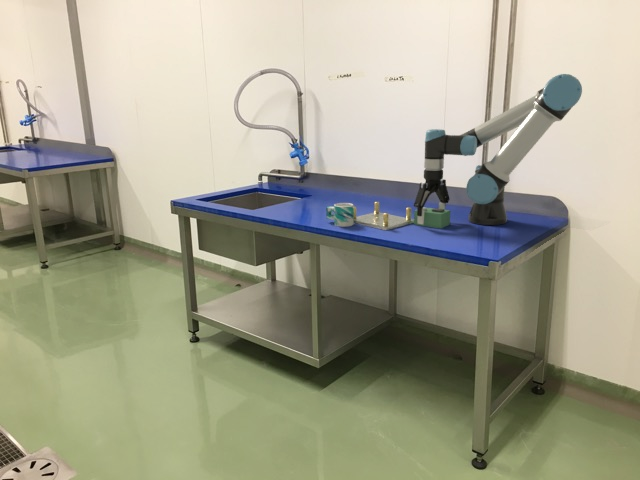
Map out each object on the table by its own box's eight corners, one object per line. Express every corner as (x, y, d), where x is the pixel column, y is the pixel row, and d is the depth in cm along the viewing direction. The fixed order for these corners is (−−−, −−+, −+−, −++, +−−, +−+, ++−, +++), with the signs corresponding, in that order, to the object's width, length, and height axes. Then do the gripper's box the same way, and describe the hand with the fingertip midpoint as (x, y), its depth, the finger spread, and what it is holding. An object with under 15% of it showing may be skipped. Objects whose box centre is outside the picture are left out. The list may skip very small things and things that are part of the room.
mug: (346, 227, 217) (345, 207, 215) (322, 223, 224) (322, 204, 222) (357, 223, 223) (357, 203, 221) (334, 220, 230) (333, 200, 228)
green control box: (449, 224, 217) (450, 208, 215) (440, 229, 211) (441, 211, 210) (423, 221, 225) (423, 204, 223) (414, 225, 219) (414, 208, 217)
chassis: (415, 222, 222) (415, 207, 220) (386, 230, 210) (386, 215, 209) (376, 214, 238) (376, 200, 236) (347, 221, 227) (347, 207, 225)
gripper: (444, 165, 222) (442, 214, 228) (405, 171, 207) (404, 224, 213) (460, 166, 217) (457, 217, 223) (421, 173, 201) (418, 228, 207)
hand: (431, 221), depth 218 cm, fingers open, 13 cm apart
